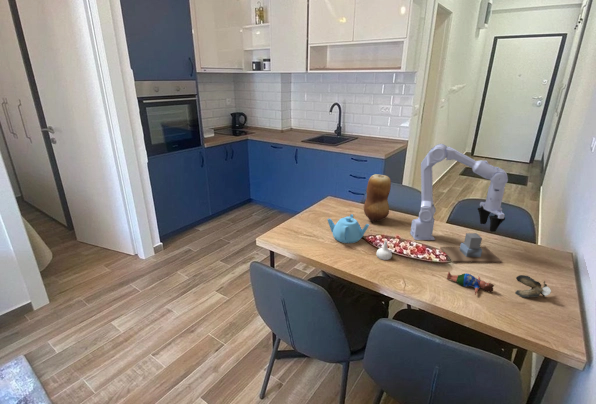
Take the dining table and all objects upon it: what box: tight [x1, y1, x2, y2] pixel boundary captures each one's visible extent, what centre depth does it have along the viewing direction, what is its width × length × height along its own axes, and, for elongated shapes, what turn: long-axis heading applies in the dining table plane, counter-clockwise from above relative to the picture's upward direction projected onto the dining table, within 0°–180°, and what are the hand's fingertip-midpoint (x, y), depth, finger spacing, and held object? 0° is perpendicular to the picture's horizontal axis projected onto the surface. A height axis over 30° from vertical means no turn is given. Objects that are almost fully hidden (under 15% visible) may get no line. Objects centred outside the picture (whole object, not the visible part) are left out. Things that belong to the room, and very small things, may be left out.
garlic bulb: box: [375, 239, 393, 261], centre depth 133 cm, size 6×6×8 cm
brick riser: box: [439, 242, 503, 264], centre depth 135 cm, size 20×12×4 cm, turn 90°
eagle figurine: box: [515, 274, 552, 299], centre depth 109 cm, size 8×7×9 cm
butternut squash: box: [363, 173, 392, 222], centre depth 167 cm, size 14×13×25 cm
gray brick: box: [463, 232, 483, 249], centre depth 133 cm, size 4×4×5 cm
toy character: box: [446, 271, 495, 295], centre depth 115 cm, size 12×5×15 cm
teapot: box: [327, 214, 370, 244], centre depth 150 cm, size 15×15×11 cm
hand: (487, 227), depth 138 cm, fingers open, 7 cm apart
